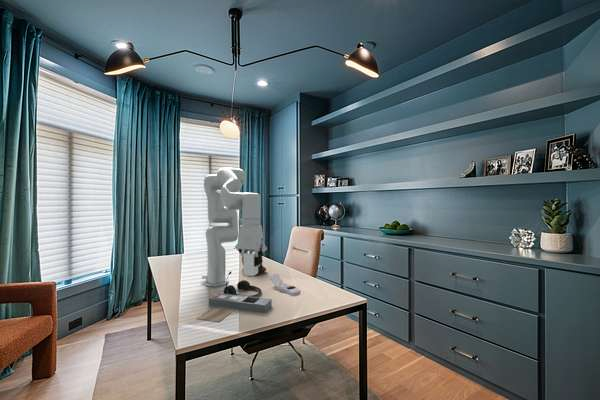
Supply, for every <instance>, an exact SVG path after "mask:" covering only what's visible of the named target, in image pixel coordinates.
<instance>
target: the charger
mask: <svg viewBox="0 0 600 400" xmlns="http://www.w3.org/2000/svg"><path fill="white" fill-rule="evenodd" d="M254 257H255V252H252V250H249V251H248V252H246V253H243V263H242V269H243V272H242V274H243V276H249V277H254V276H257V273H258V266H256V267H255V266H254Z"/></svg>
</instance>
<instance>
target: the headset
mask: <svg viewBox="0 0 600 400" xmlns="http://www.w3.org/2000/svg"><path fill="white" fill-rule="evenodd" d="M229 275H232V270H231V271H229V272H228V275H227V276H226V279H228V278H229ZM236 289H237V290H241V291H242V290H243V291H248V290H249V291H250V290H251V291H255V292H258V293H256V294H254V295H252V294H251V295H247V296H248V297H257V298H260V296H261V295H262V290H261V288H260V287H257V286H256V285H251V284H250V282H249V281H248V280H244V279H243V280H239V281H238V283H236V287H235V286H234V285H232V284H230V285H228V283H227V280H226V284H225V286H224V289H223V294H231V295H240V296H245V295H242V294H239V293H237V290H236Z"/></svg>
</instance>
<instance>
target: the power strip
mask: <svg viewBox="0 0 600 400" xmlns="http://www.w3.org/2000/svg"><path fill="white" fill-rule="evenodd" d="M240 295H241V294H239V295H231V294H224V293H220V292H218V293H216V294H214V295H212V296H211V297H209V298H208V306H209V307H218V308H224V309H225V308H226V309H230V310H231V309H232V310H233V309H234V310H238V311H239V310H240V311H247V312H255V313H263V314H265V313H267V311H269V309H271V307H272V298H266V297H264V298H263V297H248V296H249V295H244V296H240Z"/></svg>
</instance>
